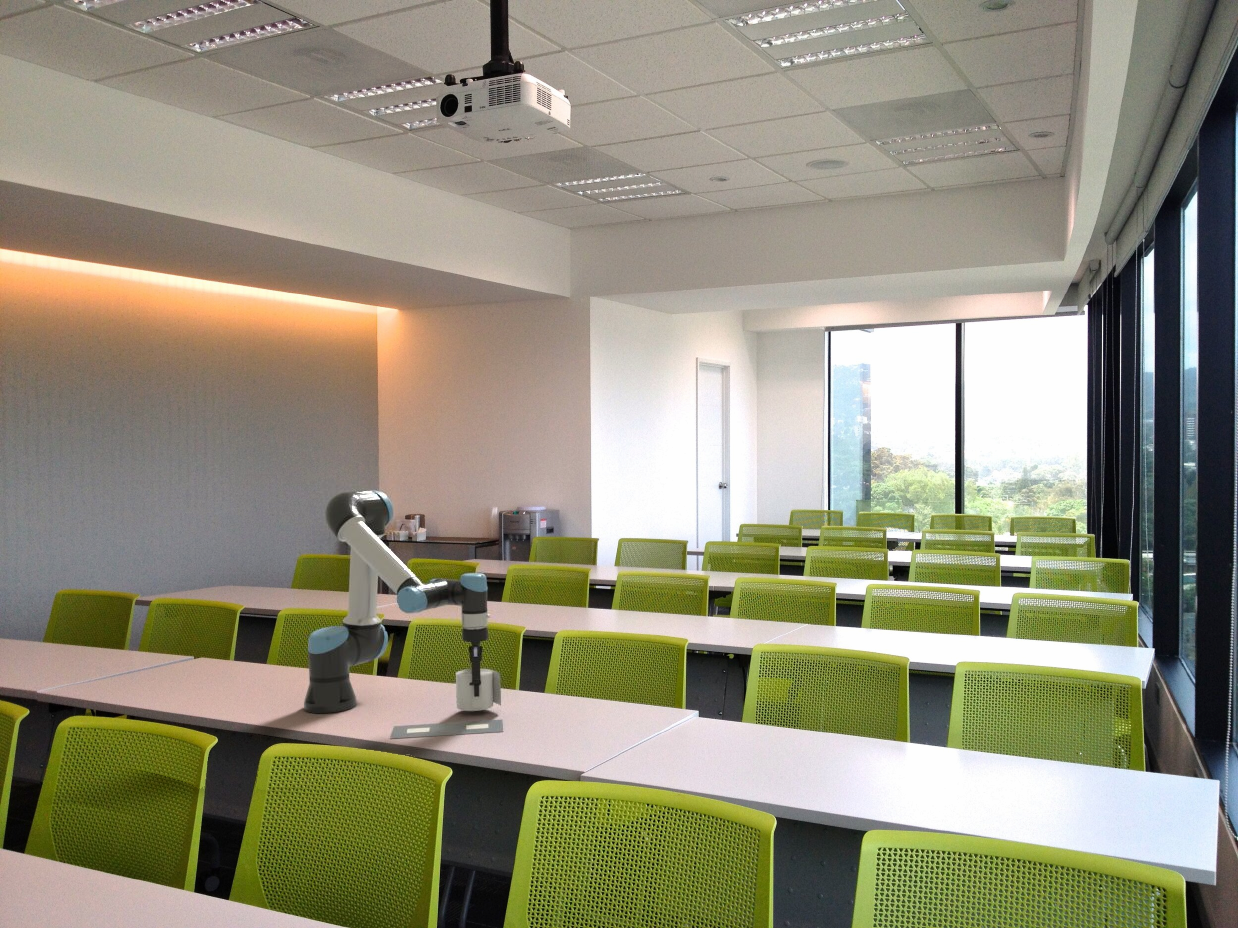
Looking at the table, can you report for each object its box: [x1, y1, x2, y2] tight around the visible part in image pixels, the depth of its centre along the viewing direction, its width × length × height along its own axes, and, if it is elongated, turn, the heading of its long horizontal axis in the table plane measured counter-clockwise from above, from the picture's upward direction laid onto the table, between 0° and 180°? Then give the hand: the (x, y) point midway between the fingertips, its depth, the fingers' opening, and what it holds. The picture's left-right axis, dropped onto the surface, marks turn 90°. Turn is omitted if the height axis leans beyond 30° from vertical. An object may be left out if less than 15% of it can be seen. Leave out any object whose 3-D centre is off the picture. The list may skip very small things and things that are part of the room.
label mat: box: [389, 719, 504, 740], centre depth 275 cm, size 30×12×1 cm, turn 98°
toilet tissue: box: [455, 668, 502, 712], centre depth 292 cm, size 11×12×10 cm
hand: (477, 702), depth 292 cm, fingers closed on toilet tissue, 11 cm apart
